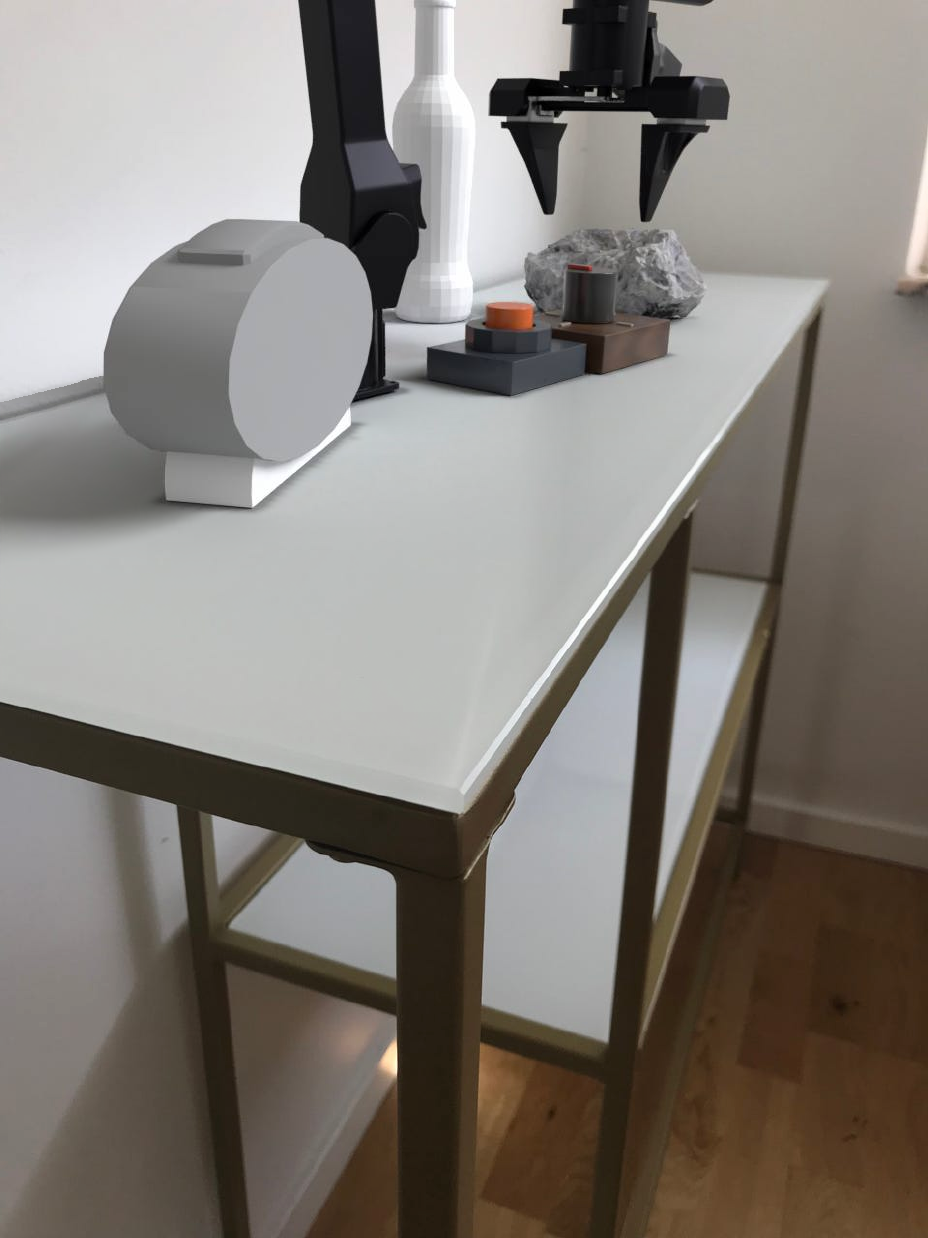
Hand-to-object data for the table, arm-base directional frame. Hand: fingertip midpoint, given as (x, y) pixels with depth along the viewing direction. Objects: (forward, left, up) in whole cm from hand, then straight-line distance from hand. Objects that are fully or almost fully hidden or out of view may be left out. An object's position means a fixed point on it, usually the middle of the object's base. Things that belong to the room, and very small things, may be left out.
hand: (595, 217), depth 84 cm
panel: (0, 0, -11) cm, 11 cm away
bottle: (+6, +22, -11) cm, 25 cm away
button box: (-12, 0, -11) cm, 16 cm away
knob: (0, 0, -8) cm, 8 cm away
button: (-12, 0, -7) cm, 14 cm away
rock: (+20, +9, -11) cm, 25 cm away
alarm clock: (-39, -3, -11) cm, 41 cm away
